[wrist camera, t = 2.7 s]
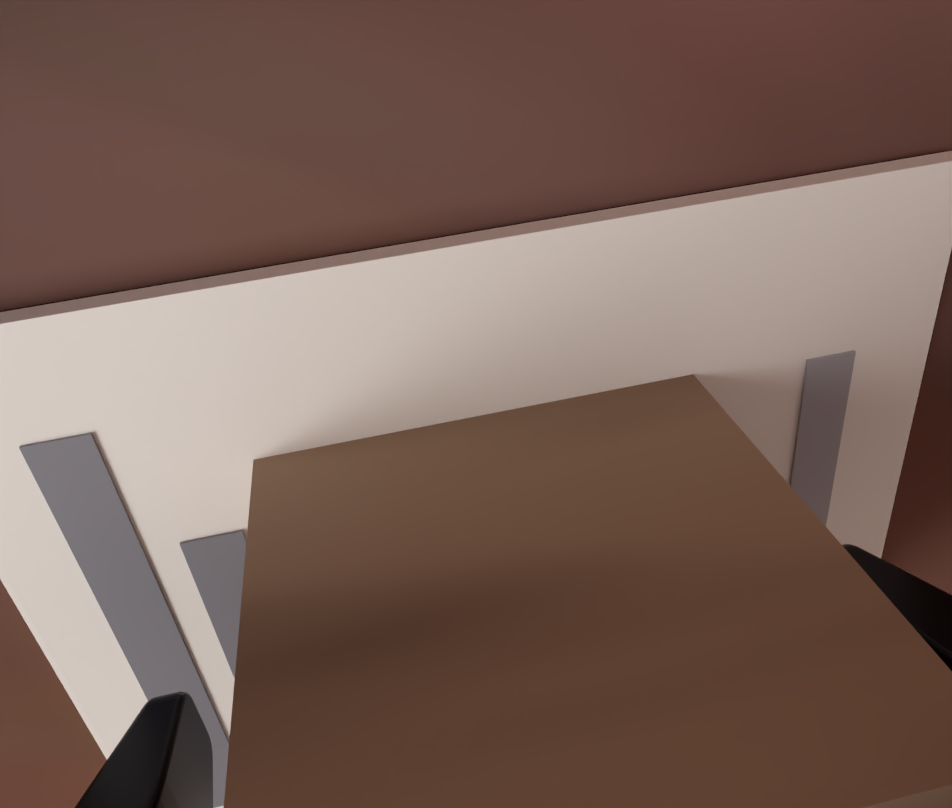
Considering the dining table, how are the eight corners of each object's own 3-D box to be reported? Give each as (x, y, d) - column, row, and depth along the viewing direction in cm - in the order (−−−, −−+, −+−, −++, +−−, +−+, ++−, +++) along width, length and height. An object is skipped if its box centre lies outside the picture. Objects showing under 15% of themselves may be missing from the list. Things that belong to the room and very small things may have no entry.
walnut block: (679, 664, 12) (891, 1077, 8) (343, 743, 11) (369, 1234, 7) (692, 374, 9) (1032, 763, 5) (252, 458, 9) (208, 977, 4)
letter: (837, 689, 13) (849, 706, 13) (174, 850, 12) (171, 872, 12) (951, 150, 9) (975, 158, 8) (-121, 332, 7) (-140, 349, 7)
